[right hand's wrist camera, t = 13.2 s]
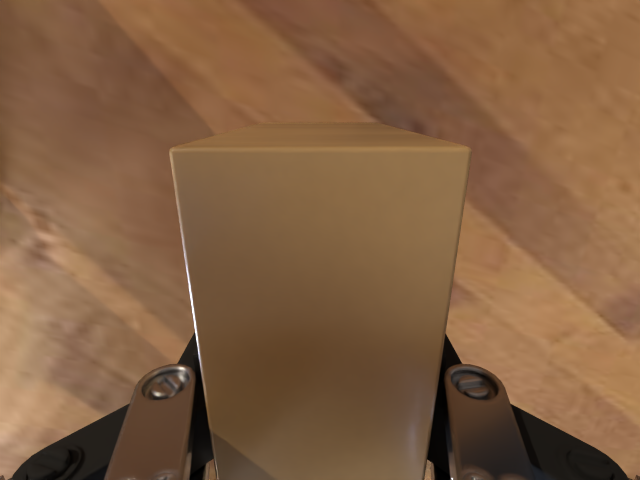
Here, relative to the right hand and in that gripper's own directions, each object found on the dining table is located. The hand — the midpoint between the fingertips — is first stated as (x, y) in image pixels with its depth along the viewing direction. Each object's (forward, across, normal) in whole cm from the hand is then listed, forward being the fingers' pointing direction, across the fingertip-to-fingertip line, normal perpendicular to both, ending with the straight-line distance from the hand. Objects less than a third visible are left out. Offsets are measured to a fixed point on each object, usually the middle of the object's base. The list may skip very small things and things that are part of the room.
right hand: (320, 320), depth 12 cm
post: (+3, 0, -22) cm, 22 cm away
